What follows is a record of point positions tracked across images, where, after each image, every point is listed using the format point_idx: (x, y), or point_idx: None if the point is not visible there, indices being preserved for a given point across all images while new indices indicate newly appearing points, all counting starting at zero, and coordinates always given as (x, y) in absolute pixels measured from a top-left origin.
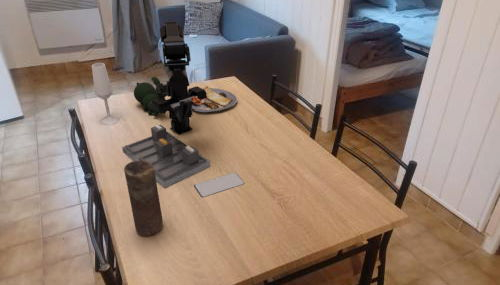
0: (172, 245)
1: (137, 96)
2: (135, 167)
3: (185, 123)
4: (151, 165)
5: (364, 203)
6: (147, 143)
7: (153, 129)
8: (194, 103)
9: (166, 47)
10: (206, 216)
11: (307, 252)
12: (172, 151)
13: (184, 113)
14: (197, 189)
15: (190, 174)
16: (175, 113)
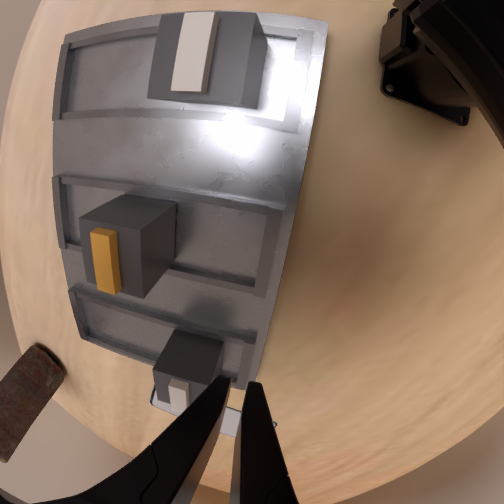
0: (72, 397)
1: None
2: None
3: (458, 104)
4: (2, 458)
5: (320, 499)
6: (146, 66)
7: (159, 46)
8: None
9: None
10: (133, 418)
11: (202, 484)
12: (167, 268)
13: (230, 497)
14: (155, 390)
15: None
16: (150, 446)
